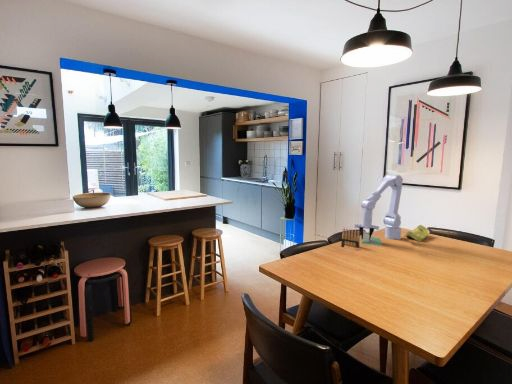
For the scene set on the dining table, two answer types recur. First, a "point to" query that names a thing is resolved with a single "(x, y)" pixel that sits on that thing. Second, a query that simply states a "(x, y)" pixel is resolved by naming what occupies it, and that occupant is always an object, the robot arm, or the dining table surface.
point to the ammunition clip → (350, 238)
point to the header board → (373, 241)
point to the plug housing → (365, 236)
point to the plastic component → (418, 233)
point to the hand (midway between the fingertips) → (365, 239)
